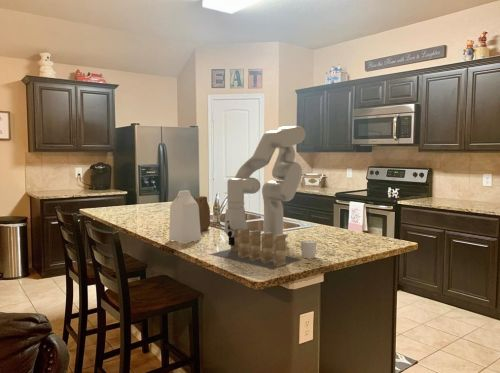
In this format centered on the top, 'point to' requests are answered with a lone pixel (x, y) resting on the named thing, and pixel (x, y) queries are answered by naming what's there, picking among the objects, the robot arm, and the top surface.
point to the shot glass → (308, 249)
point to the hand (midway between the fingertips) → (235, 243)
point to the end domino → (235, 247)
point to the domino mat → (234, 256)
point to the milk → (184, 218)
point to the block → (203, 212)
